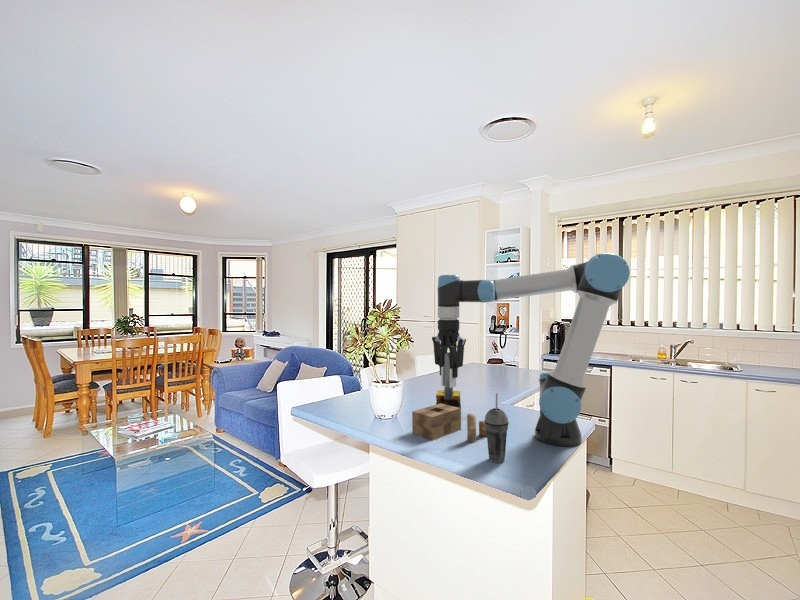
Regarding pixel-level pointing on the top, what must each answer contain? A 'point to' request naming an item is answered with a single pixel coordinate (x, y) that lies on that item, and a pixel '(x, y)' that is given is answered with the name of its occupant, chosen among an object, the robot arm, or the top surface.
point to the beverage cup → (496, 433)
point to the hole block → (436, 421)
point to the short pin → (482, 429)
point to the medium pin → (471, 427)
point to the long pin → (447, 377)
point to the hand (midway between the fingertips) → (448, 386)
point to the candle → (452, 402)
